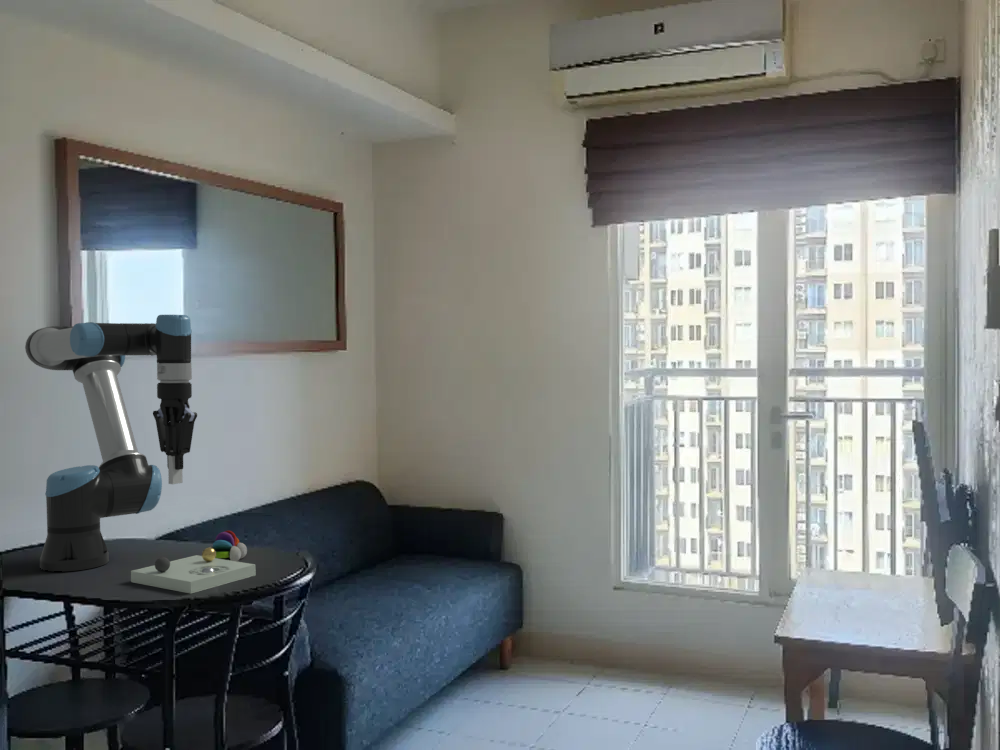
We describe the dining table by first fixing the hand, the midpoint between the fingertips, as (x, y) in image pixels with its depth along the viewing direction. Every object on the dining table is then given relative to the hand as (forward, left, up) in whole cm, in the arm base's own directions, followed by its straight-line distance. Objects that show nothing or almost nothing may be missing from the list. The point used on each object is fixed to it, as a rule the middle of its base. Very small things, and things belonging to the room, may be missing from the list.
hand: (175, 483), depth 212 cm
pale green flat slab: (+9, -2, -21) cm, 23 cm away
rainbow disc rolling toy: (0, +14, -21) cm, 25 cm away
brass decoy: (+7, +4, -17) cm, 18 cm away
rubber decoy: (+6, -8, -17) cm, 19 cm away
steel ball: (+13, -2, -19) cm, 23 cm away
